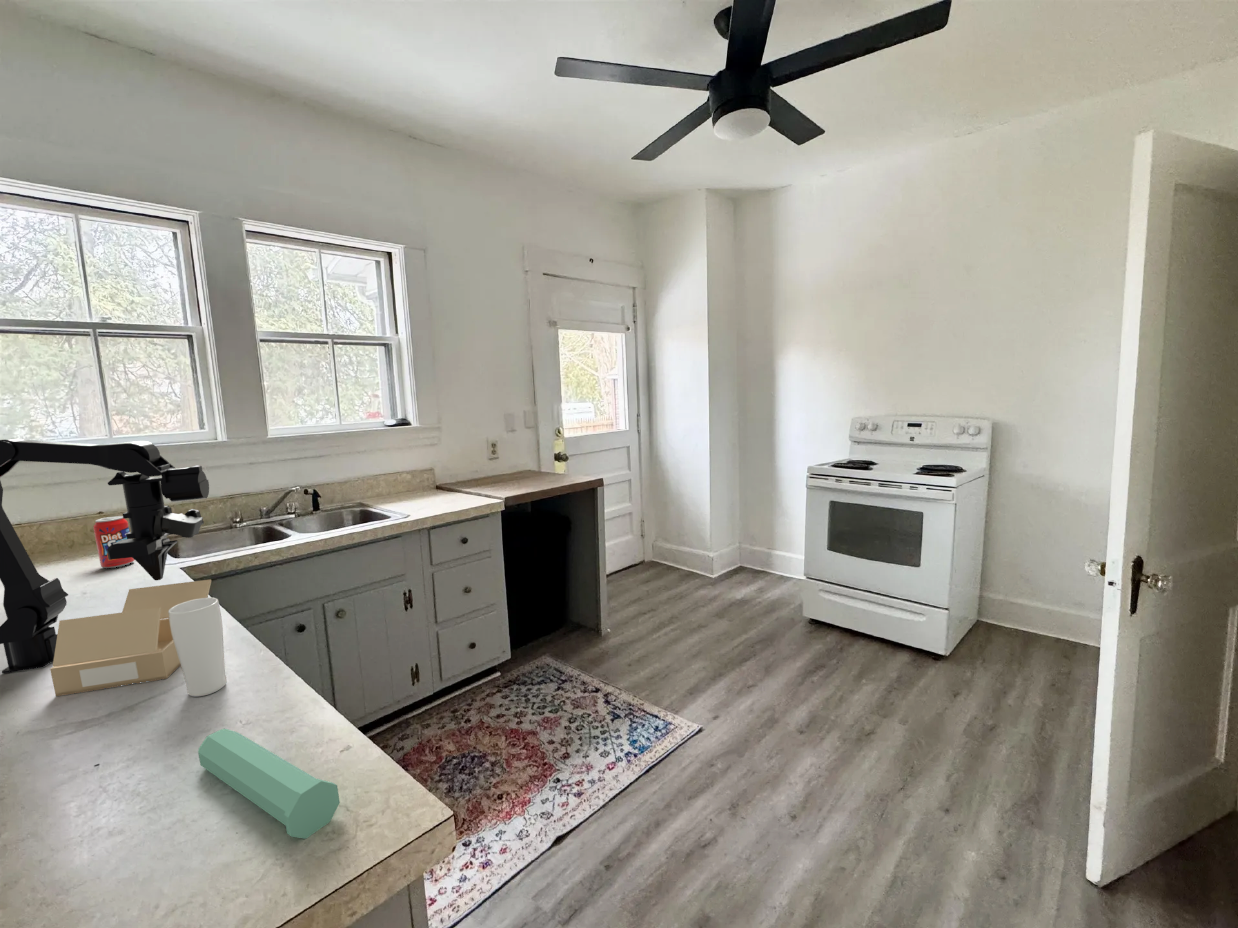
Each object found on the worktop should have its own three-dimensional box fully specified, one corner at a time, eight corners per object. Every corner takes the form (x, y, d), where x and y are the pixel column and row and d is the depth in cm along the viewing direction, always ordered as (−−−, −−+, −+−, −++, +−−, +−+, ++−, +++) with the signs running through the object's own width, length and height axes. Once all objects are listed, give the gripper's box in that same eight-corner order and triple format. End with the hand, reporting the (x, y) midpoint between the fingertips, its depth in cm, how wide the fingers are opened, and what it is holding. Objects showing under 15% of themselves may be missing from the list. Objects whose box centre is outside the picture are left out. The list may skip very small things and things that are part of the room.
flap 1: (54, 666, 93) (52, 666, 93) (61, 620, 96) (59, 620, 95) (156, 651, 97) (155, 651, 96) (161, 607, 99) (159, 607, 99)
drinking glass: (206, 701, 90) (191, 614, 87) (171, 699, 91) (156, 612, 89) (241, 679, 96) (228, 597, 94) (209, 677, 97) (196, 596, 95)
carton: (55, 697, 94) (49, 669, 93) (119, 649, 111) (114, 625, 110) (166, 679, 98) (161, 652, 97) (211, 635, 115) (207, 613, 114)
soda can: (114, 562, 174) (106, 516, 172) (141, 560, 175) (133, 514, 173) (94, 570, 166) (84, 522, 164) (122, 568, 167) (113, 520, 165)
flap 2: (129, 589, 115) (130, 590, 115) (118, 623, 110) (119, 624, 111) (210, 579, 118) (211, 580, 119) (203, 612, 114) (204, 613, 114)
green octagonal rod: (195, 724, 73) (295, 787, 60) (243, 718, 78) (345, 775, 64) (182, 772, 72) (280, 847, 58) (231, 763, 77) (333, 830, 63)
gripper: (171, 509, 104) (184, 589, 106) (211, 492, 121) (222, 560, 124) (98, 516, 100) (113, 598, 103) (150, 497, 118) (163, 567, 120)
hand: (158, 579), depth 112 cm, fingers closed
